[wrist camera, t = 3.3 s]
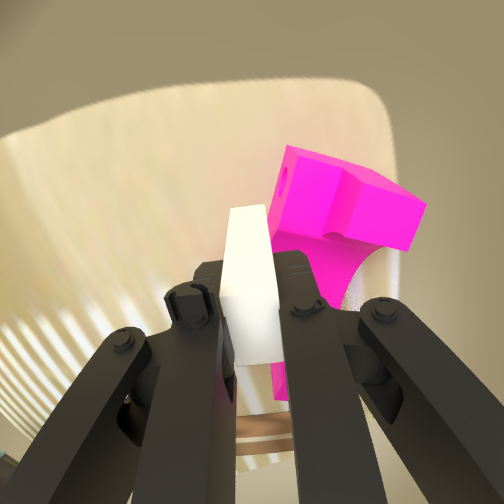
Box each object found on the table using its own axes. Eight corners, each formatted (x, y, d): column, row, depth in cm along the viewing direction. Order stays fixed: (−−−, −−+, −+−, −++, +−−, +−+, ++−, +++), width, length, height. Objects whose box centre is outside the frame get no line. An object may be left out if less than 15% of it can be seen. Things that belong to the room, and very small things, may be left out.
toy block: (286, 144, 19) (310, 167, 12) (371, 169, 20) (426, 204, 13) (238, 325, 26) (237, 396, 19) (308, 334, 26) (324, 402, 20)
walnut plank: (217, 437, 34) (216, 457, 31) (208, 418, 32) (206, 439, 29) (341, 422, 34) (346, 441, 31) (345, 401, 31) (351, 422, 29)
